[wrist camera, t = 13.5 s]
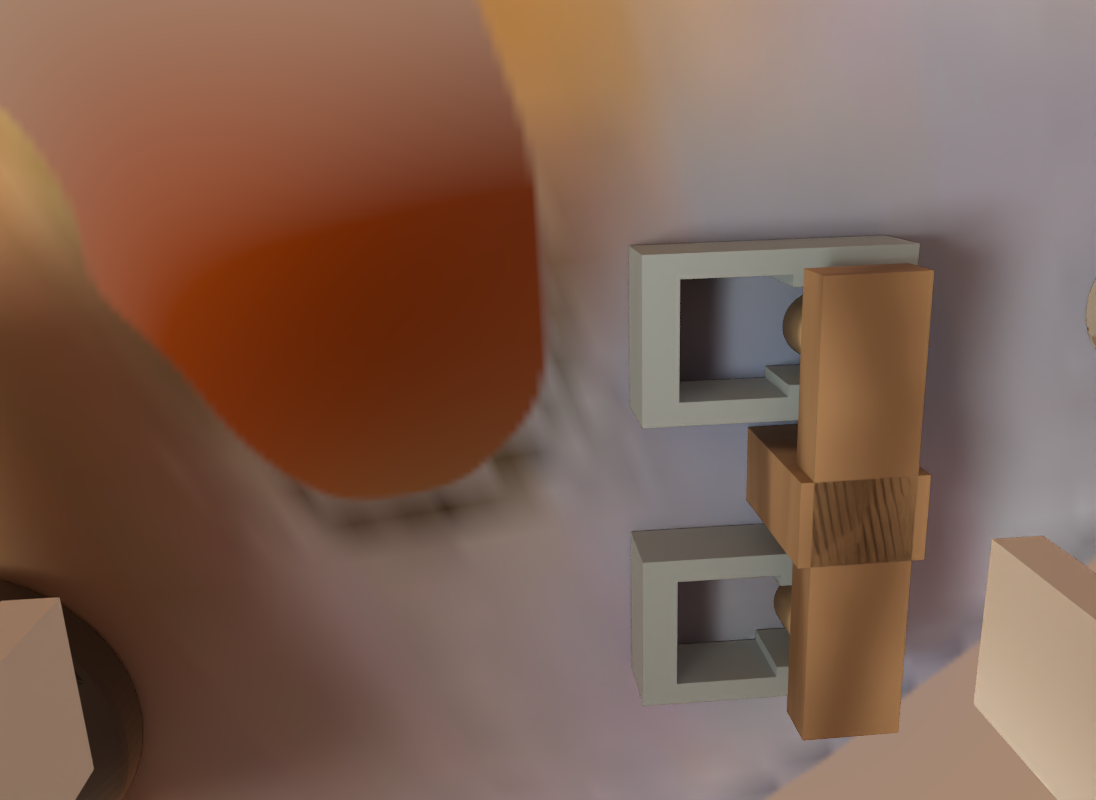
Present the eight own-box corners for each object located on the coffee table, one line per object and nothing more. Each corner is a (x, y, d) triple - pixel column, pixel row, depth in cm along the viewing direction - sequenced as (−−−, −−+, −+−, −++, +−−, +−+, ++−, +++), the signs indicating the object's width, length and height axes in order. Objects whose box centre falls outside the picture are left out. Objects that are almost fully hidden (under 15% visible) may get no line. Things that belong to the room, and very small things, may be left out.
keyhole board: (631, 666, 44) (643, 706, 41) (628, 245, 38) (641, 255, 35) (856, 650, 45) (883, 688, 41) (884, 235, 39) (919, 243, 36)
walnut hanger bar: (742, 649, 44) (790, 741, 37) (752, 252, 39) (809, 276, 32) (844, 641, 44) (909, 731, 38) (866, 247, 39) (947, 269, 32)
